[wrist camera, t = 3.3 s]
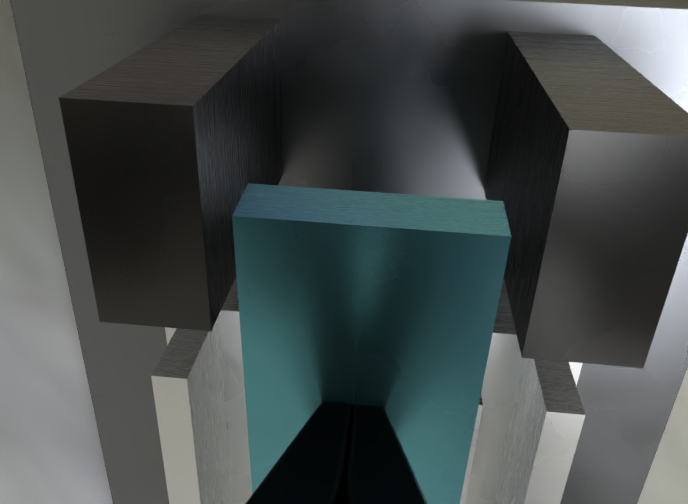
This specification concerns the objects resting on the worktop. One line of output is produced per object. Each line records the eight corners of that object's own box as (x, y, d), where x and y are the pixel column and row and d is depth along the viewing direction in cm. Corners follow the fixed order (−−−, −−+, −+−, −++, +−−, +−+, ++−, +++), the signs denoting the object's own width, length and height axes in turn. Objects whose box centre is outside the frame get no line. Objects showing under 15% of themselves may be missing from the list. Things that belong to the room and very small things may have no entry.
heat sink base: (574, 596, 21) (636, 875, 15) (148, 550, 22) (49, 796, 16) (774, 2, 12) (1115, 112, 6) (45, -34, 13) (-260, 33, 7)
